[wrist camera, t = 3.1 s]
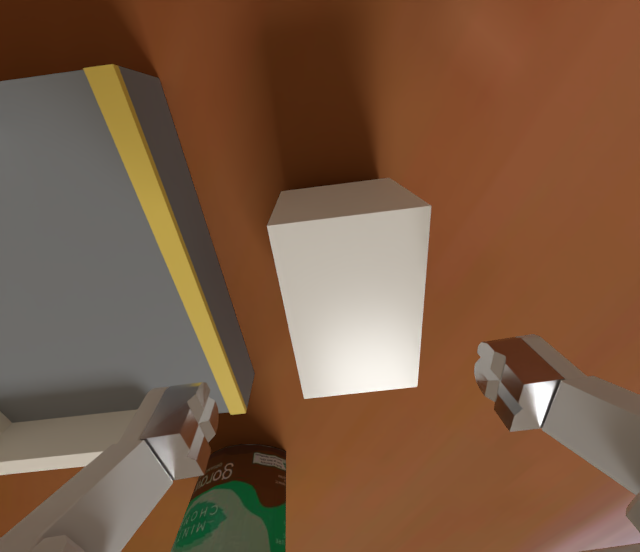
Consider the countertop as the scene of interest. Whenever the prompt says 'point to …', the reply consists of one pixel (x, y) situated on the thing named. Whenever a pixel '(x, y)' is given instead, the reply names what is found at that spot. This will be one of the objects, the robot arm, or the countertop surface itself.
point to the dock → (101, 268)
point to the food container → (237, 503)
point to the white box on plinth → (352, 283)
